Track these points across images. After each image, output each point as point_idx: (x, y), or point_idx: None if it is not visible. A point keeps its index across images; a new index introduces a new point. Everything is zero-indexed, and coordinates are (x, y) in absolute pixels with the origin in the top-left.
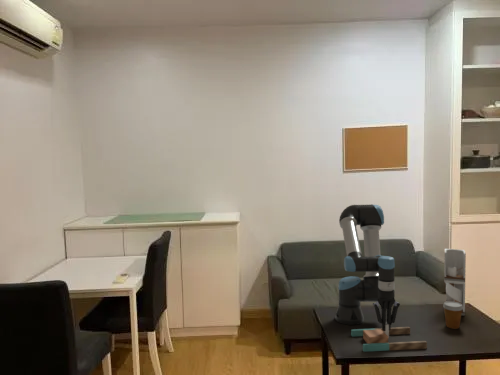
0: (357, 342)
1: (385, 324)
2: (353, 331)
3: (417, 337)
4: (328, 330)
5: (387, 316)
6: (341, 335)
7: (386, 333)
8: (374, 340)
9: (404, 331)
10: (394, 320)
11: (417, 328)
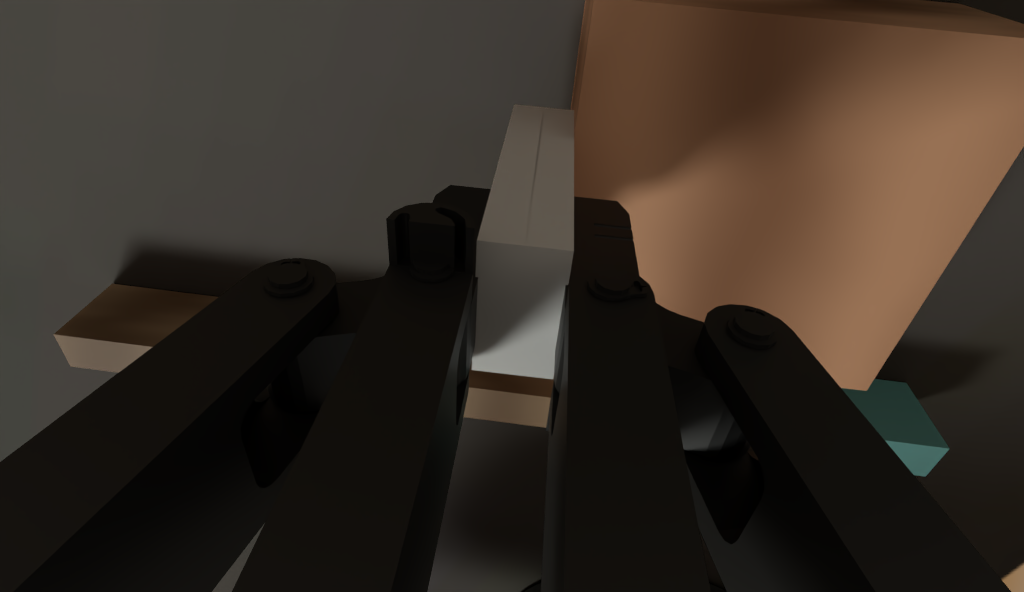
0: (1014, 206)
1: (568, 279)
2: (920, 434)
3: (19, 159)
4: (1015, 548)
5: (434, 505)
6: (1004, 434)
7: (559, 144)
8: (916, 17)
9: (169, 313)
10: (231, 301)
11: (15, 377)
